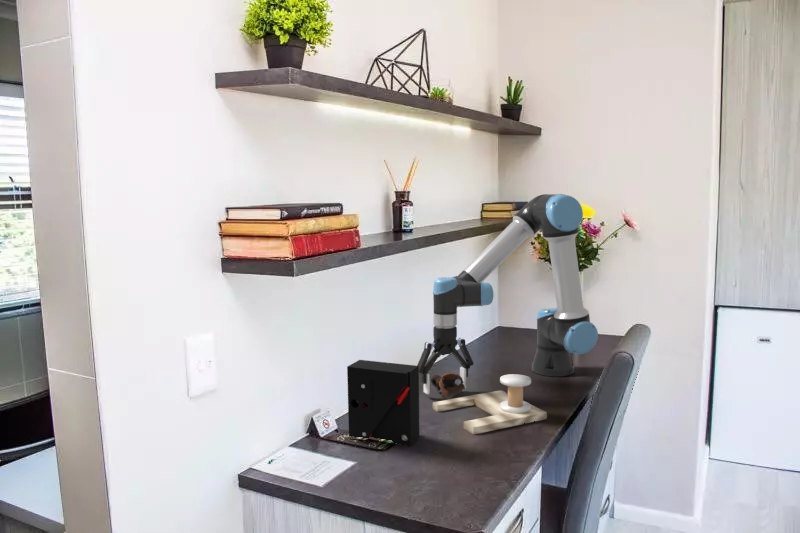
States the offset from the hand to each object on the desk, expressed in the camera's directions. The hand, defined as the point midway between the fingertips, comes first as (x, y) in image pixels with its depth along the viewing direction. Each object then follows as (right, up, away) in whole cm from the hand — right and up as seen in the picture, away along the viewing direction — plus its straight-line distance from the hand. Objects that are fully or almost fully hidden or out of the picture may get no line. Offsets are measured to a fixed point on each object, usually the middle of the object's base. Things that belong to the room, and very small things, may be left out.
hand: (445, 390), depth 205 cm
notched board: (+11, -4, -18) cm, 21 cm away
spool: (+19, -2, -19) cm, 27 cm away
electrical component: (-19, -6, -34) cm, 39 cm away
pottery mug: (+1, -2, +1) cm, 2 cm away
